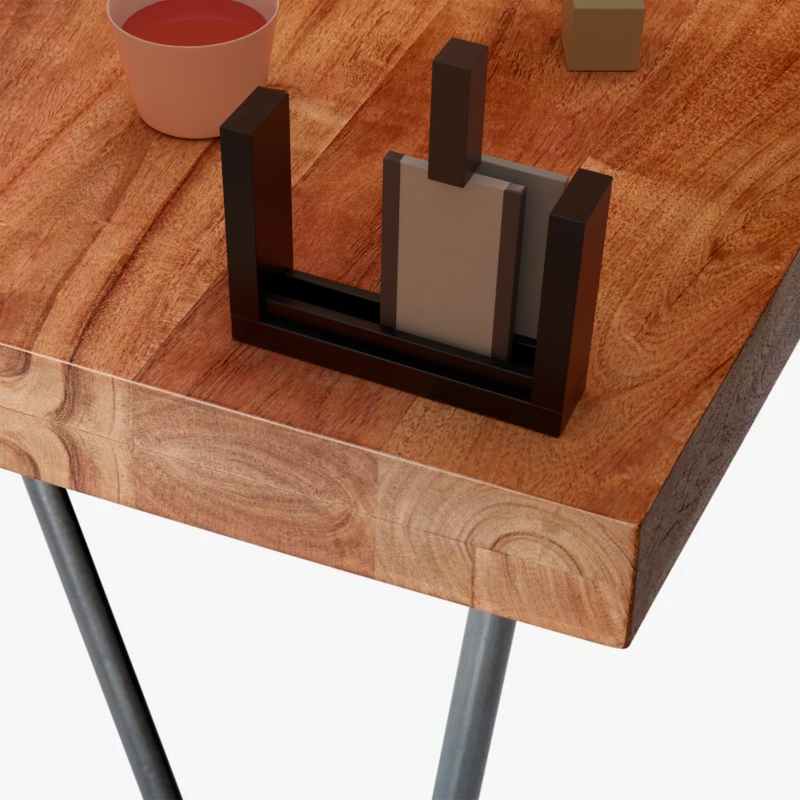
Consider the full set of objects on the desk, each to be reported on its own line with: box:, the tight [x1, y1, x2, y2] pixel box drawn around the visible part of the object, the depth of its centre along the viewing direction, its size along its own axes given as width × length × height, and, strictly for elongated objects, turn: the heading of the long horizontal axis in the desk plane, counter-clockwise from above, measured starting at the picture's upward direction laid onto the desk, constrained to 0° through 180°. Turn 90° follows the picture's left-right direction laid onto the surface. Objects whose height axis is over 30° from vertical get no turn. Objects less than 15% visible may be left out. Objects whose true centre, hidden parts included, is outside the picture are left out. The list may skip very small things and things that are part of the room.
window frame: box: [219, 86, 614, 438], centre depth 72 cm, size 16×4×12 cm, turn 67°
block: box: [560, 0, 647, 72], centre depth 95 cm, size 4×4×4 cm
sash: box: [379, 36, 527, 362], centre depth 69 cm, size 6×2×15 cm, turn 67°
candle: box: [105, 0, 280, 140], centre depth 89 cm, size 9×9×6 cm
